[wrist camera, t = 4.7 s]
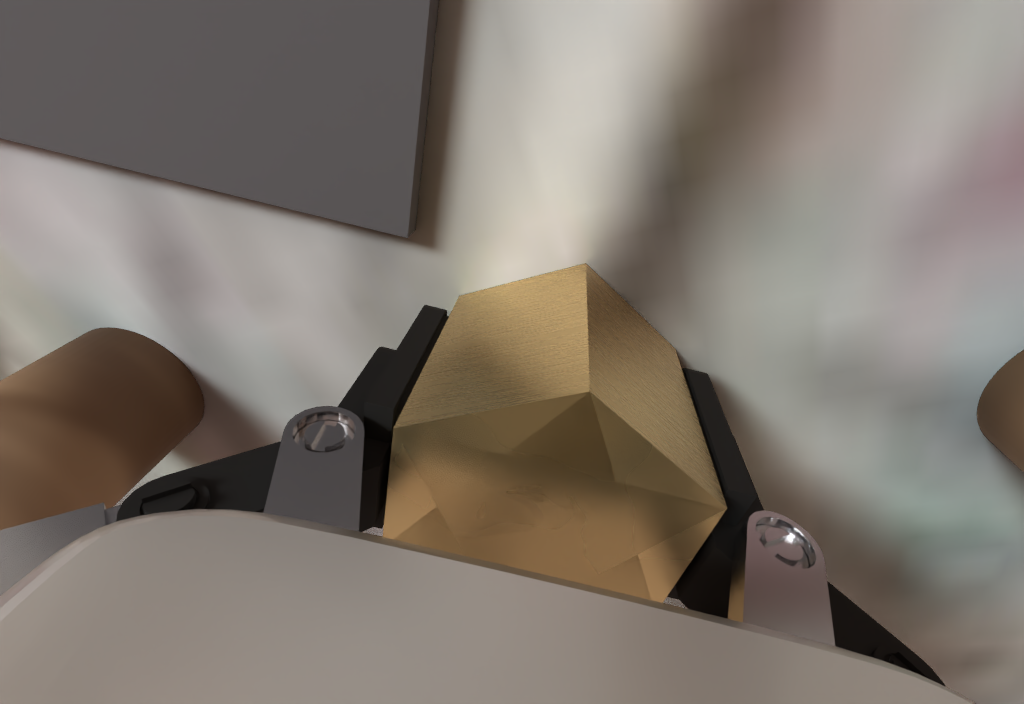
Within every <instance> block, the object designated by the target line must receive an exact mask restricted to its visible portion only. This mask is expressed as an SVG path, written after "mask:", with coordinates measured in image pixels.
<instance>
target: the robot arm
mask: <svg viewBox="0 0 1024 704" xmlns="http://www.w3.org/2000/svg"><path fill="white" fill-rule="evenodd" d="M448 318H449V316H447V310H444V309H440V308H436V307H432V306H428V305H424V307H423V308H422V310H421V311H420V313H419V315H418V316H417V318H416V319H415V321H414V323H413V324H412V326H411V328H410V329H409V331H408V332H407V334H406V336H405V337H404V339H403V340H402V342H401V344H400V345H399V347H398V348H397V350H393V349H389V348H385V347H379V348H378V349H377V350H376V352H375V353H374V355H373V356H372V358H371V359H370V361H369V362H368V364H367V365H366V366H365V368H364V369H363V371H362V372H361V374H360V375H359V377H358V378H357V380H356V381H355V382H354V384H353V385H352V387H351V388H350V390H349V391H348V393H347V394H346V396H345V397H344V398H343V400H342V401H341V403H340V404H339V406H338V407H333V406H322V407H315V408H311V409H307V410H305V411H303V412H301V413H299V414H297V415H295V416H294V417H293V418H292V419H291V420H290V421H289V422H288V423H287V425H286V427H285V429H284V432H283V436H282V440H281V442H277V443H274V444H271V445H267V446H264V447H260V448H257V449H254V450H250V451H247V452H244V453H240V454H237V455H233V456H230V457H227V458H223V459H220V460H216V461H213V462H210V463H206V464H203V465H200V466H196V467H193V468H189V469H186V470H183V471H179V472H176V473H172V474H169V475H166V476H163V477H160V478H158V479H155V480H152V481H150V482H148V483H146V484H144V485H143V486H141V487H140V488H138V489H136V490H135V491H134V492H133V493H132V494H131V495H130V496H129V497H128V498H127V499H125V500H124V502H123V503H122V505H119V506H115V507H112V508H108V509H106V506H105V504H104V503H100V504H96V505H92V506H89V507H85V508H81V509H78V510H74V511H70V512H66V513H63V514H59V515H55V516H51V517H48V518H44V519H40V520H36V521H33V522H29V523H25V524H22V525H18V526H14V527H10V528H7V529H3V530H0V704H976V703H974V702H973V701H971V700H969V699H967V698H966V697H964V696H962V695H960V694H959V693H957V692H955V691H954V690H952V689H949V688H947V687H945V685H944V683H943V682H942V681H941V680H940V678H939V677H938V676H937V675H936V673H935V672H934V671H933V670H932V669H931V668H930V667H929V666H928V665H927V664H926V663H925V662H924V661H923V660H922V659H921V658H920V657H919V656H917V655H916V654H915V653H914V652H913V651H911V650H910V649H909V648H908V647H907V646H905V645H904V644H903V643H902V642H900V641H899V640H898V639H897V638H896V637H894V636H893V635H892V634H891V633H890V632H888V631H887V630H886V629H885V628H883V627H882V626H881V625H880V624H879V623H877V622H876V621H875V620H874V619H873V618H871V617H870V616H869V615H868V614H867V613H865V612H864V611H863V610H862V609H860V608H859V607H858V606H857V605H856V604H854V603H853V602H852V601H851V600H850V599H848V598H847V597H846V596H845V595H843V594H842V593H841V592H840V591H839V590H837V589H836V588H835V587H834V586H833V585H831V584H830V583H829V582H828V581H827V575H826V567H825V560H824V556H823V553H822V550H821V549H820V547H819V546H818V544H817V542H816V541H815V540H814V538H813V537H812V536H811V535H810V534H809V533H808V532H807V531H806V530H805V529H804V528H802V527H801V526H800V525H799V524H797V523H796V522H794V521H793V520H791V519H789V518H787V517H786V516H784V515H781V514H778V513H775V512H772V511H764V510H763V507H762V505H761V502H760V500H759V497H758V495H757V493H756V490H755V488H754V485H753V483H752V480H751V478H750V475H749V473H748V470H747V468H746V465H745V463H744V460H743V458H742V456H741V453H740V451H739V448H738V446H737V443H736V441H735V438H734V436H733V435H732V433H731V430H730V428H729V425H728V423H727V420H726V418H725V415H724V413H723V410H722V408H721V405H720V403H719V400H718V398H717V396H716V393H715V391H714V388H713V386H712V383H711V381H710V378H709V376H708V374H706V373H703V372H699V371H695V370H690V369H686V368H684V369H682V372H683V375H684V378H685V381H686V384H687V387H688V390H689V393H690V396H691V399H692V402H693V405H694V408H695V411H696V414H697V418H698V421H699V424H700V427H701V430H702V433H703V436H704V439H705V442H706V445H707V448H708V451H709V454H710V457H711V460H712V463H713V467H714V470H715V473H716V476H717V479H718V482H719V485H720V488H721V491H722V494H723V497H724V500H725V503H726V506H727V509H726V511H725V512H724V514H723V515H722V517H721V518H720V520H719V521H718V523H717V524H716V526H715V527H714V528H713V530H712V531H711V533H710V534H709V536H708V537H707V539H706V540H705V542H704V543H703V545H702V546H701V547H700V549H699V550H698V552H697V553H696V555H695V556H694V558H693V559H692V561H691V562H690V564H689V565H688V566H687V568H686V569H685V571H684V572H683V574H682V575H681V577H680V578H679V580H678V581H677V583H676V584H675V585H674V587H673V588H672V590H671V591H670V593H669V594H668V596H667V597H671V598H675V599H679V600H680V601H681V602H682V603H683V604H684V605H685V607H684V608H681V607H677V606H673V605H669V604H665V603H661V602H657V601H653V600H649V599H644V598H640V597H636V596H632V595H628V594H624V593H619V592H615V591H611V590H607V589H603V588H599V587H594V586H590V585H586V584H582V583H578V582H573V581H569V580H565V579H561V578H557V577H552V576H548V575H544V574H540V573H536V572H531V571H527V570H523V569H519V568H515V567H510V566H506V565H502V564H498V563H493V562H489V561H485V560H480V559H476V558H472V557H468V556H463V555H459V554H455V553H450V552H446V551H442V550H437V549H433V548H429V547H425V546H420V545H416V544H412V543H407V542H403V541H399V540H394V539H390V538H386V537H382V536H377V535H372V534H368V533H363V532H362V531H365V530H367V529H369V528H371V527H377V528H381V529H382V527H383V525H384V518H385V508H386V498H387V488H388V478H389V468H390V458H391V448H392V438H393V428H394V426H395V424H396V422H397V420H398V418H399V416H400V414H401V412H402V410H403V408H404V406H405V404H406V402H407V400H408V398H409V396H410V394H411V392H412V390H413V388H414V386H415V384H416V382H417V380H418V378H419V376H420V374H421V372H422V370H423V368H424V366H425V364H426V362H427V360H428V358H429V356H430V354H431V352H432V350H433V348H434V346H435V344H436V342H437V340H438V338H439V336H440V334H441V332H442V330H443V328H444V326H445V324H446V322H447V320H448Z"/></svg>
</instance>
